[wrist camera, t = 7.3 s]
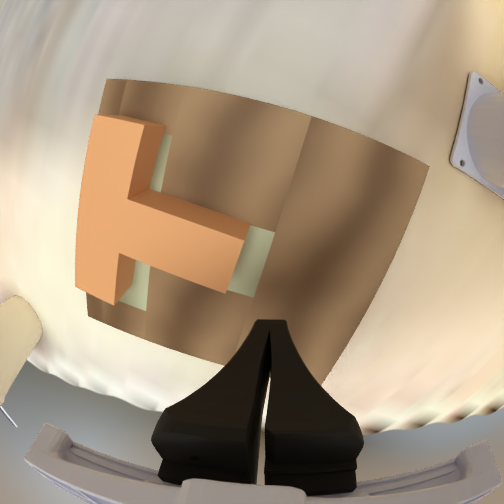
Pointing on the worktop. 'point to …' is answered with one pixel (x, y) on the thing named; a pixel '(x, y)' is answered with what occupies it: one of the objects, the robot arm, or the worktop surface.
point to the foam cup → (16, 339)
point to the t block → (143, 217)
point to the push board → (266, 222)
